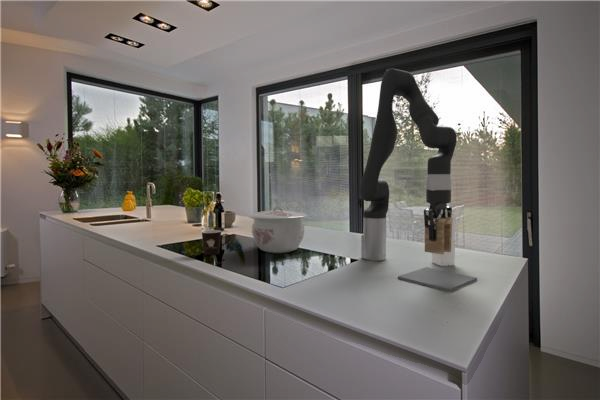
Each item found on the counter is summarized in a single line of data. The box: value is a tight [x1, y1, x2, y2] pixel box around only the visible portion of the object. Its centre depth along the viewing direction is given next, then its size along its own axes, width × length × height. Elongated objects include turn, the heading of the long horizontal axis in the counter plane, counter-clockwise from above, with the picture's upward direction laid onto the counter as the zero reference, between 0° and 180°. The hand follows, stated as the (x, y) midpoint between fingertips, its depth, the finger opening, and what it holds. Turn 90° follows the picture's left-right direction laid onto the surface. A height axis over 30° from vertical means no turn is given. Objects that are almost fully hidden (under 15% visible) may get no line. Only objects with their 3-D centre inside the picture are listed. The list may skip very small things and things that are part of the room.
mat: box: [397, 266, 478, 293], centre depth 115 cm, size 18×18×1 cm
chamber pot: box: [248, 206, 309, 254], centre depth 162 cm, size 28×28×21 cm
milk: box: [431, 213, 457, 267], centre depth 135 cm, size 6×6×22 cm
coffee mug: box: [201, 229, 231, 256], centre depth 156 cm, size 12×9×10 cm
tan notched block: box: [424, 217, 452, 255], centre depth 114 cm, size 6×6×11 cm
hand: (437, 239), depth 114 cm, fingers closed on tan notched block, 6 cm apart
